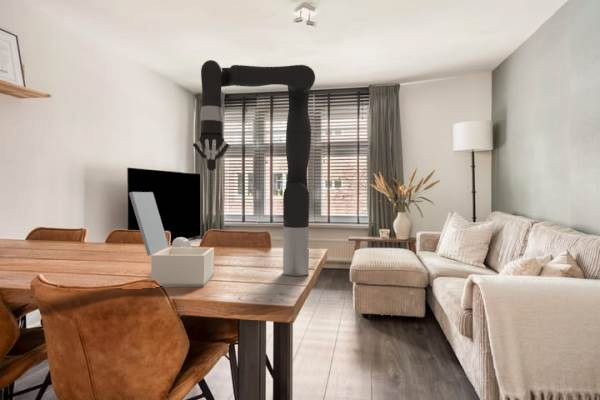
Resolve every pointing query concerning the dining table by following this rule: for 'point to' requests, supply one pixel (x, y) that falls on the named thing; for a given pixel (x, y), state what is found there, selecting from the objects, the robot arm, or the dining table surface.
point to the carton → (183, 267)
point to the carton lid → (149, 221)
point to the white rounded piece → (181, 243)
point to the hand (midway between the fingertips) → (211, 170)
